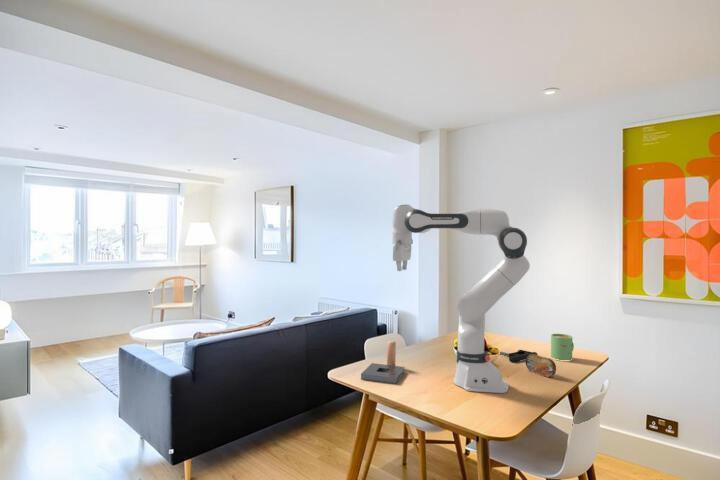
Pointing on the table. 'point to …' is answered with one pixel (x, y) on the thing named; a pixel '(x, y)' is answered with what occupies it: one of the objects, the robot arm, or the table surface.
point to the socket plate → (383, 373)
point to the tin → (540, 365)
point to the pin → (391, 353)
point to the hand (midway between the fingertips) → (401, 270)
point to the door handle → (517, 355)
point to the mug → (561, 346)
